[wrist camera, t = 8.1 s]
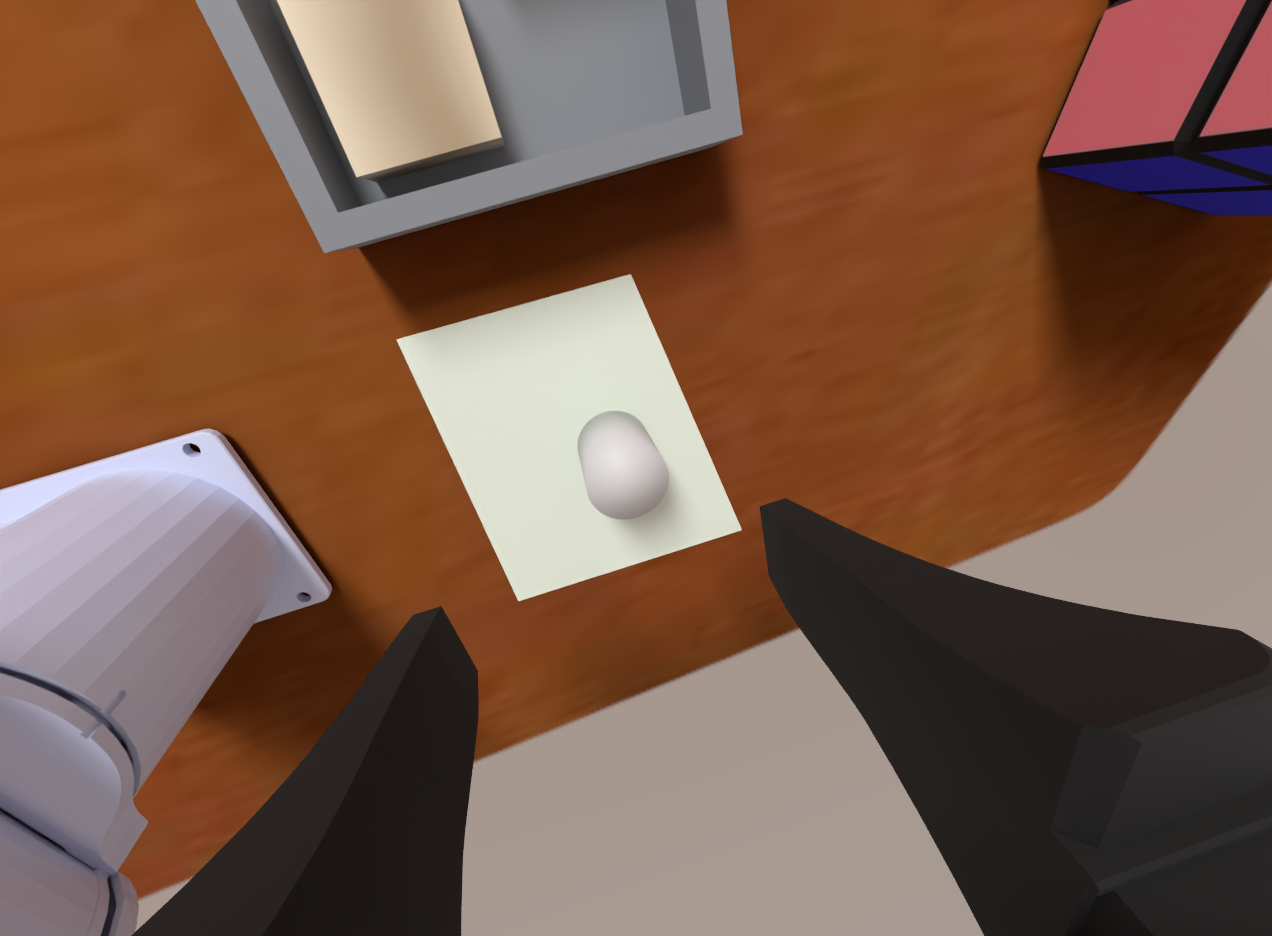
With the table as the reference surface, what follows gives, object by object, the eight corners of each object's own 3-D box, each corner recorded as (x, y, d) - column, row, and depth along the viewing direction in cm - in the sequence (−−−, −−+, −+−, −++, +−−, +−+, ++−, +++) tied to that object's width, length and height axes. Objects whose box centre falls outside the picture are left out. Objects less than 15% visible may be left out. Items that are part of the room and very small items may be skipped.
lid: (518, 592, 24) (517, 658, 20) (400, 336, 18) (368, 364, 14) (765, 514, 25) (805, 564, 21) (728, 244, 19) (776, 249, 15)
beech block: (376, 182, 15) (356, 177, 13) (302, 12, 13) (267, -20, 11) (504, 147, 15) (501, 137, 14) (450, -25, 13) (438, -63, 12)
